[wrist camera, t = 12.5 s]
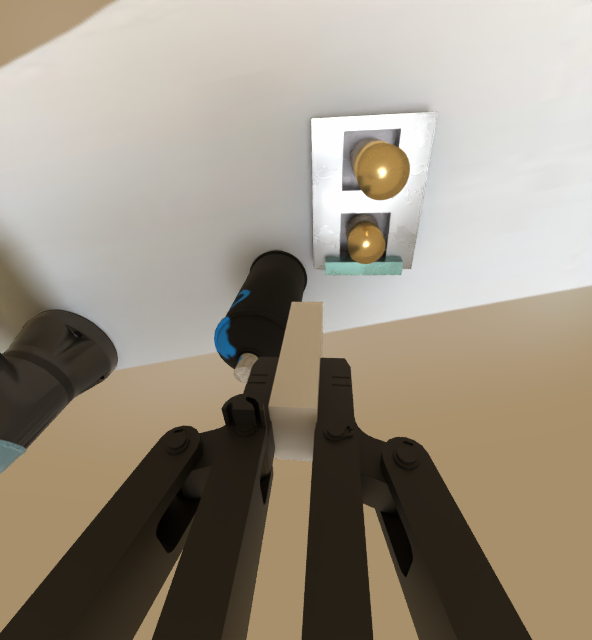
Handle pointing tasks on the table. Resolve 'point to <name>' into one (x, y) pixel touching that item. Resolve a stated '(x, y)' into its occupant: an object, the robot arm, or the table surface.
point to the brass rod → (379, 168)
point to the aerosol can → (260, 312)
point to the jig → (355, 207)
